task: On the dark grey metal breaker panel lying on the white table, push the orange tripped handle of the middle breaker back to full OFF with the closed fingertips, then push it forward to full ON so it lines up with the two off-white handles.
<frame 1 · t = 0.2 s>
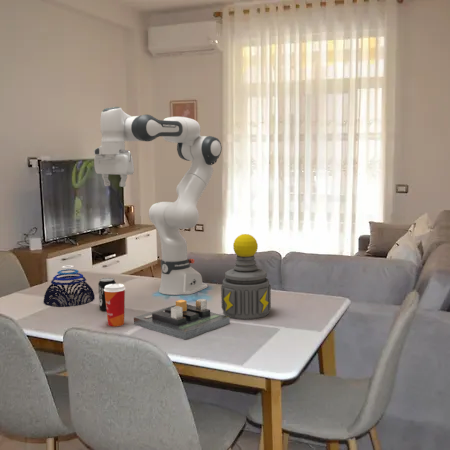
hand: (114, 186, 216), 48 cm above the table, fingers open, 8 cm apart
breaker panel: (181, 323, 199), on the table
beverage can: (108, 309, 219), on the table
paper cup: (116, 324, 200), on the table
tripped breaker handle: (181, 305, 198), point 7 cm above the table, slide at 4.0 cm
decorative bowl: (69, 301, 233), on the table
decorative lamp: (246, 313, 211), on the table
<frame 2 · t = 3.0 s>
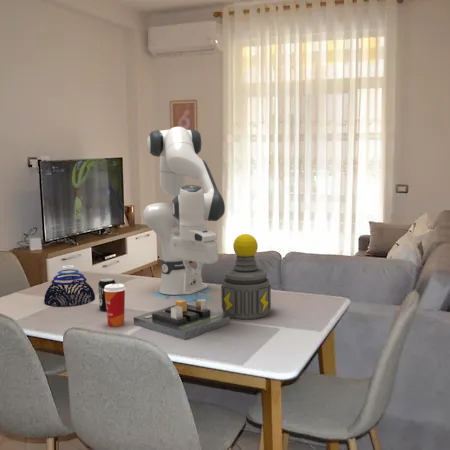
hand: (193, 273, 192), 19 cm above the table, fingers open, 3 cm apart
nothing on the table moved.
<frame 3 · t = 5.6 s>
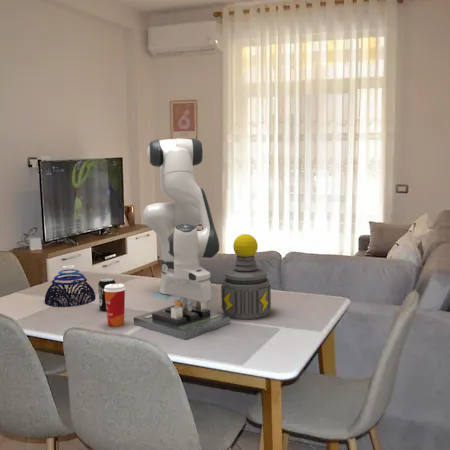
hand: (187, 310, 196), 5 cm above the table, fingers closed
tripped breaker handle: (180, 305, 198), point 7 cm above the table, slide at 3.6 cm, touching gripper
everything else where it was.
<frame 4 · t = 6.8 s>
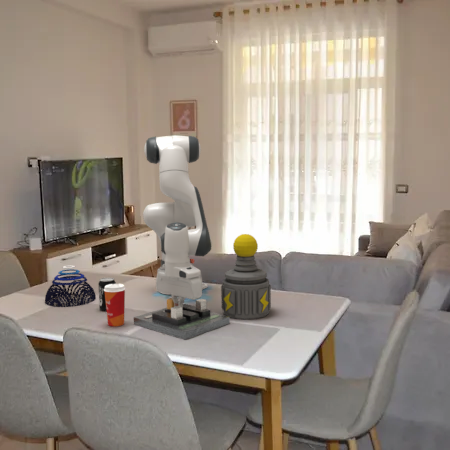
hand: (178, 307, 199), 6 cm above the table, fingers closed
tripped breaker handle: (172, 303, 201), point 7 cm above the table, slide at -0.6 cm, touching gripper
everything else where it was.
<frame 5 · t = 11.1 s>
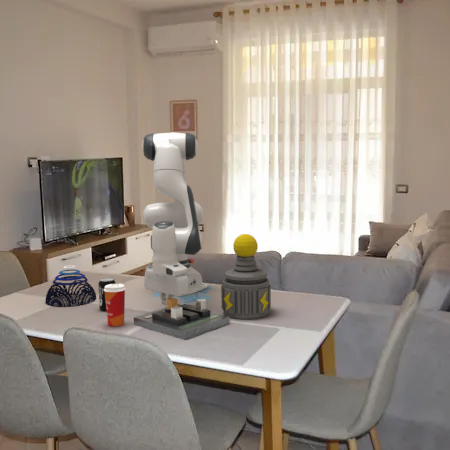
hand: (166, 304, 203), 6 cm above the table, fingers closed
nothing on the table moved.
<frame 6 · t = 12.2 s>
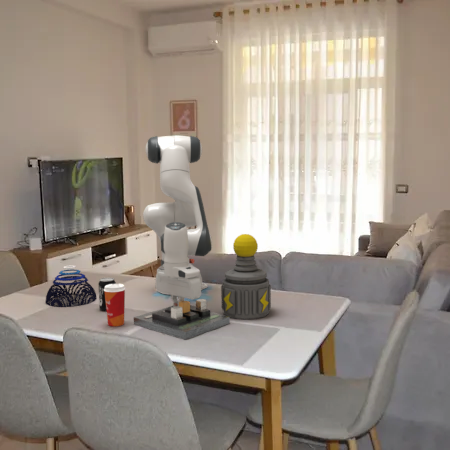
hand: (177, 307, 199), 6 cm above the table, fingers closed
tripped breaker handle: (184, 306, 197), point 7 cm above the table, slide at 5.7 cm, touching gripper
everything else where it was.
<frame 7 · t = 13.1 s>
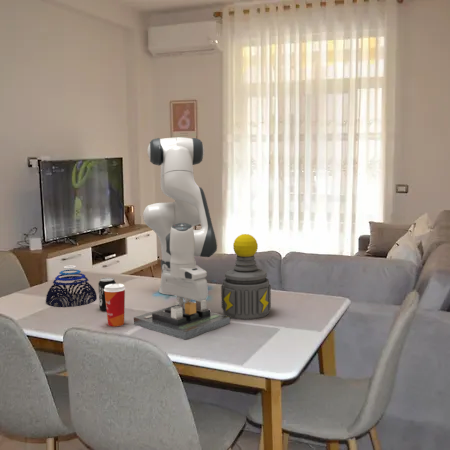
hand: (184, 309, 197), 6 cm above the table, fingers closed
tripped breaker handle: (190, 308, 195), point 7 cm above the table, slide at 8.7 cm, touching gripper
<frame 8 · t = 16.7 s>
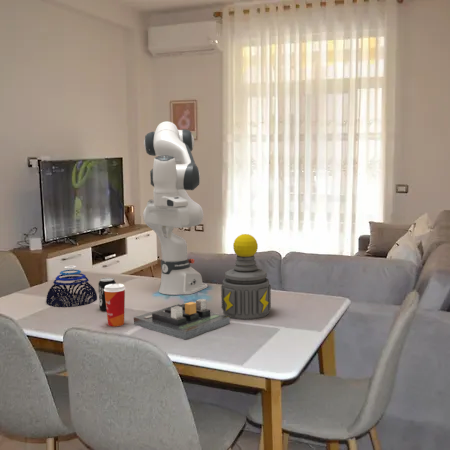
hand: (166, 237, 207), 29 cm above the table, fingers closed
tripped breaker handle: (190, 308, 195), point 7 cm above the table, slide at 8.7 cm
at the end: tripped breaker handle slide at 8.7 cm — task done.
